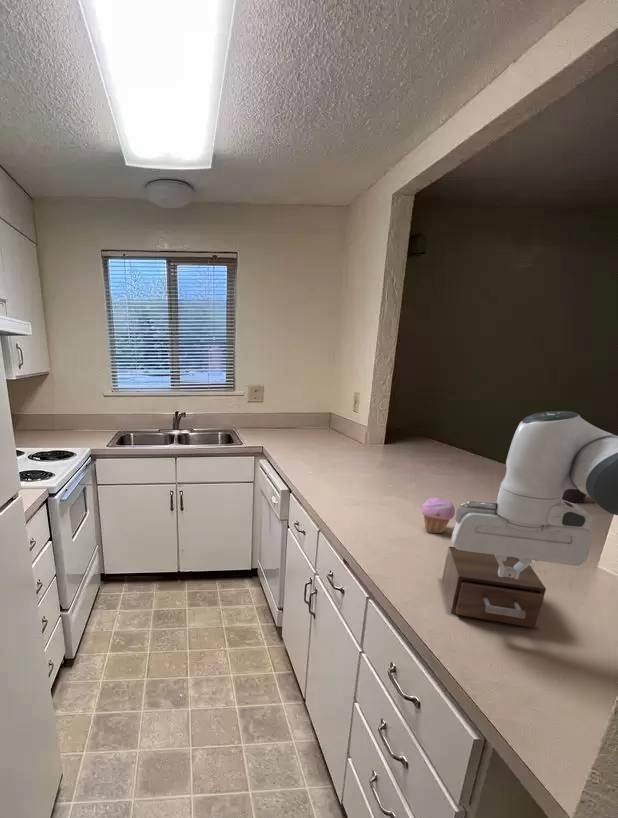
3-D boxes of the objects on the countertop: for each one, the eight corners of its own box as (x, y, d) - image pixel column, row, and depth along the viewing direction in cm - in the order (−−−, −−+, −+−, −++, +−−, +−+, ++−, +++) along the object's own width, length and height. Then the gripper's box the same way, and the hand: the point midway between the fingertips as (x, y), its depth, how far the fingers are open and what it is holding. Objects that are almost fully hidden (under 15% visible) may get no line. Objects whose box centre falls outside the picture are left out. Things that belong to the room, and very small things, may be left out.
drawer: (543, 642, 78) (553, 610, 76) (459, 627, 82) (466, 597, 80) (515, 592, 94) (523, 564, 92) (447, 582, 98) (452, 555, 96)
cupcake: (416, 523, 133) (421, 492, 130) (447, 526, 131) (453, 495, 127) (420, 534, 125) (425, 502, 122) (453, 538, 123) (460, 505, 119)
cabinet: (534, 627, 84) (546, 588, 81) (450, 613, 89) (458, 576, 86) (514, 590, 97) (523, 555, 94) (442, 579, 101) (448, 546, 98)
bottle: (564, 502, 150) (580, 445, 143) (556, 496, 156) (571, 441, 149) (587, 504, 148) (605, 446, 141) (578, 498, 154) (595, 442, 147)
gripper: (461, 505, 75) (446, 575, 80) (605, 520, 69) (580, 595, 74) (456, 494, 81) (442, 560, 86) (589, 507, 74) (566, 578, 79)
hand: (507, 576), depth 80 cm, fingers closed
